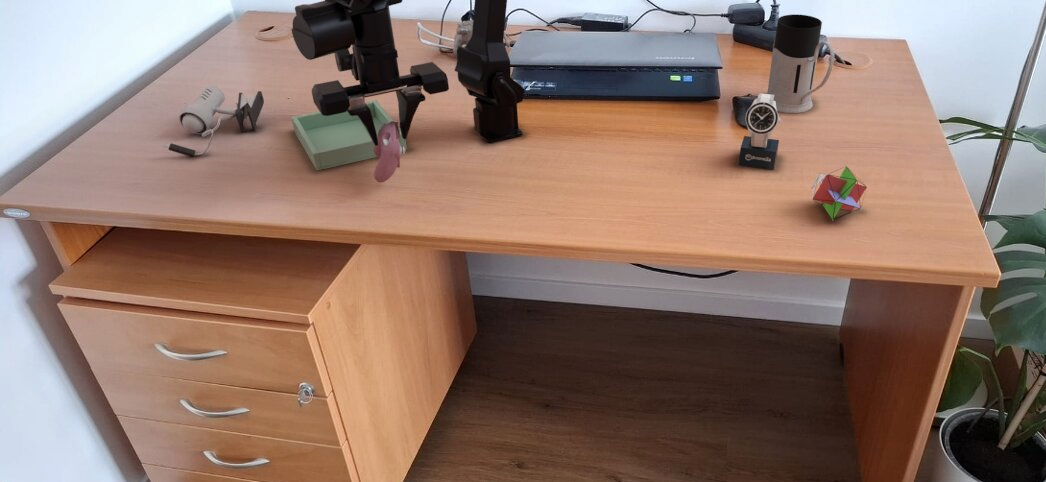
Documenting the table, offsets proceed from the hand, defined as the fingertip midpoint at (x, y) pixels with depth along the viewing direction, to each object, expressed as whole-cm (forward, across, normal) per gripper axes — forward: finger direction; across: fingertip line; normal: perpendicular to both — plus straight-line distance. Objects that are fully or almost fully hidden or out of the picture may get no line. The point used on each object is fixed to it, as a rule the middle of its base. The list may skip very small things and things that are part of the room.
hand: (390, 141), depth 124 cm
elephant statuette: (+6, -32, -41) cm, 52 cm away
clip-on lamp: (+6, +22, -28) cm, 36 cm away
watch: (+6, -52, +24) cm, 57 cm away
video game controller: (+3, 0, +2) cm, 4 cm away
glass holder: (+6, -71, +11) cm, 72 cm away
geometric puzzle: (+6, -52, +42) cm, 67 cm away
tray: (+6, +3, -15) cm, 16 cm away
